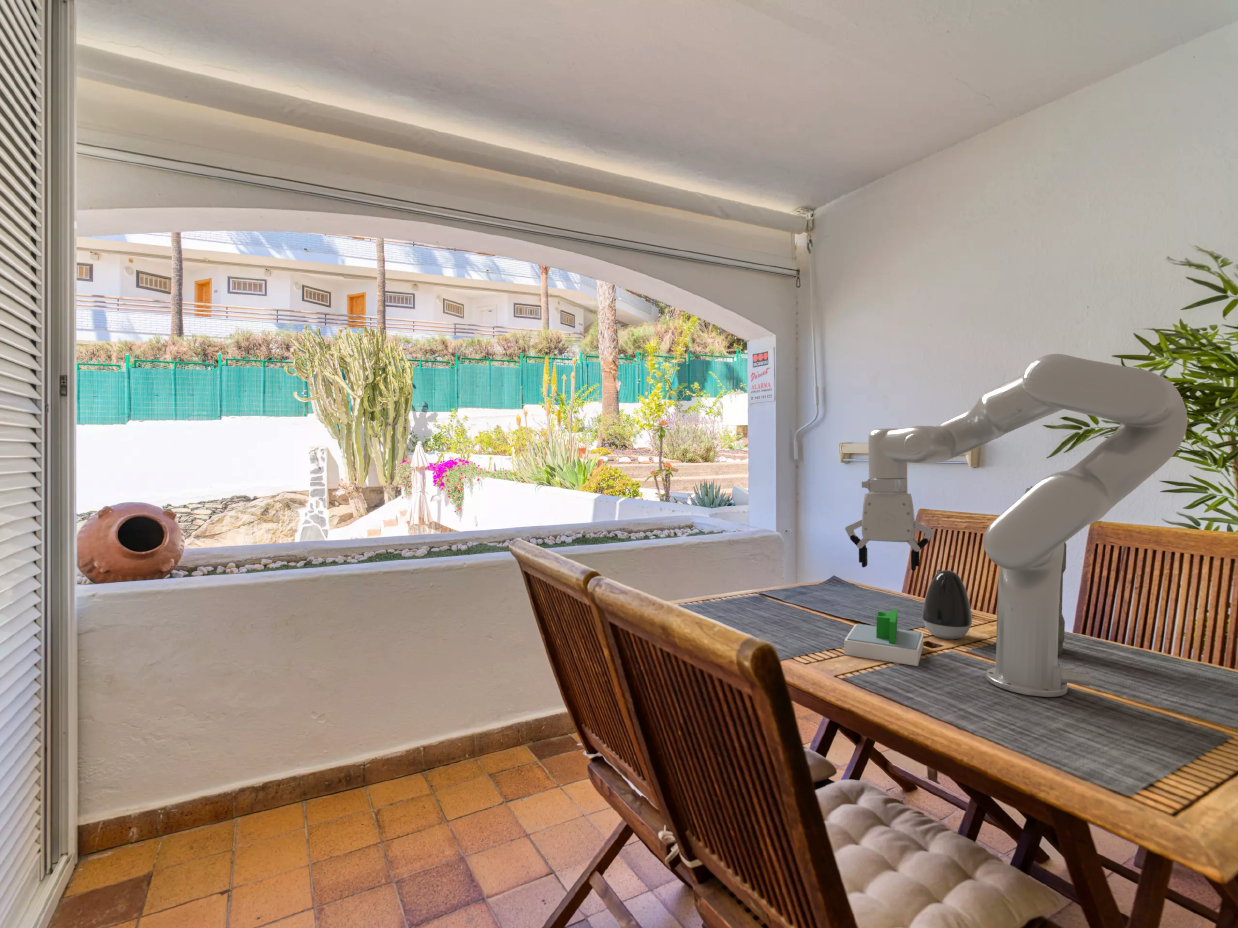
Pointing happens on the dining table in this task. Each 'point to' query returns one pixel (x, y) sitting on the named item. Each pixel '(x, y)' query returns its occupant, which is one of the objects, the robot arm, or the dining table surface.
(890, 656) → the stand
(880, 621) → the pipe clamp
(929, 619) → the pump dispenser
